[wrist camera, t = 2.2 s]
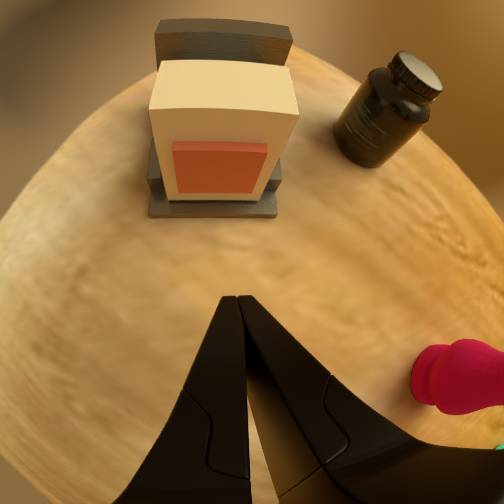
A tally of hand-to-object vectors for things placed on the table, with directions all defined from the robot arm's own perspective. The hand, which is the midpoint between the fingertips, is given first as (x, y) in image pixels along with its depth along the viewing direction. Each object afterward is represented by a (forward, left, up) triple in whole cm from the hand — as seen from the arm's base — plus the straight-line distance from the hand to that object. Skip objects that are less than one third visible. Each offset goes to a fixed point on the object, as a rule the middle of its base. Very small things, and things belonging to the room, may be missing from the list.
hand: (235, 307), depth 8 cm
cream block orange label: (+9, +5, -11) cm, 15 cm away
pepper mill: (+2, -22, -13) cm, 26 cm away
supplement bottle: (+22, -6, -13) cm, 26 cm away
